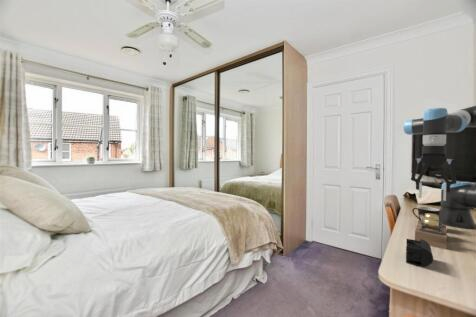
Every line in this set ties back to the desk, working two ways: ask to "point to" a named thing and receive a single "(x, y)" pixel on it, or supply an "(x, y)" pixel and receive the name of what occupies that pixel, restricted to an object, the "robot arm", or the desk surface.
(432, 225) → the knob
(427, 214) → the knob
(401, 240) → the desk surface
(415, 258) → the end cap
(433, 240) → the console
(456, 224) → the robot arm
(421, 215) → the coffee mug
